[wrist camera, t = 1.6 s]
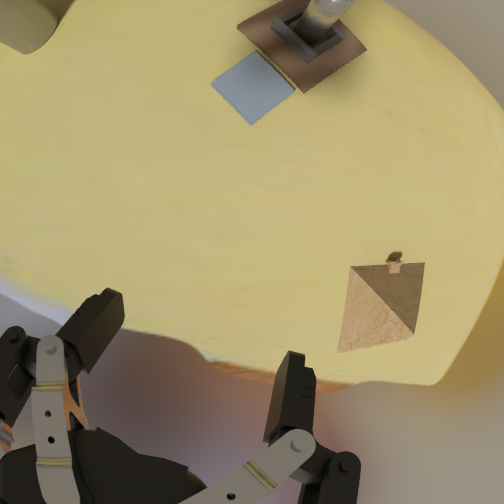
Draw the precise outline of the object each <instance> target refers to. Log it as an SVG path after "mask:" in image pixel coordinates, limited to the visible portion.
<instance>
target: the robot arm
mask: <svg viewBox="0 0 504 504" xmlns="http://www.w3.org/2000/svg"><path fill="white" fill-rule="evenodd" d="M57 23H58V15H57V13H56V12H55V11H53V10H52V9H51V8H50V7H49V6H48V5H47V4H46V3H45V2H44V1H43V0H0V42H1V43H3V44H5V45H7V46H9V47H11V48H13V49H14V50H16V51H18V52H20V53H22V54H29V53H31V52H34V51H35V50H37V49H38V48H39V47H41V46H42V45H43V44H44V43H45V42H46V41H47V40H48V39H49V38H50V36H51V35H52V33H53V32H54V30H55V28H56V26H57ZM124 317H125V313H124V305H123V297H122V294H121V293H120V292H117V291H115V290H113V289H110V288H106V289H105V290H104V291H103V292H102V293H101V294H100V295H97V294H95V295H93V296H91V297H89V298H87V299H86V300H85V301H84V302H83V304H82V305H81V306H80V308H78V309H77V310H76V311H75V313H74V314H73V315H72V316H71V317H70V318H69V320H68V321H67V322H66V323H65V324H64V326H63V327H62V328H61V329H60V330H59V332H58V333H57V334H56V335H49V336H45V337H44V338H42V339H39V338H35V337H30V336H27V335H26V333H25V331H24V329H23V328H21V327H19V326H13V327H10V328H8V329H7V330H6V331H5V333H4V334H3V335H2V336H1V338H0V504H256V503H257V502H258V501H260V500H261V499H262V498H264V497H265V496H267V495H268V494H269V493H270V492H271V491H273V490H274V488H275V487H276V486H277V485H278V484H279V483H281V482H282V481H283V480H284V479H285V478H287V477H288V476H289V477H291V478H293V479H295V480H297V481H299V482H301V483H302V486H301V491H300V495H299V499H298V503H297V504H356V503H357V496H358V488H359V480H360V471H361V463H360V460H359V458H358V457H357V456H356V455H355V454H353V453H351V452H347V451H344V452H340V453H336V452H334V451H331V450H329V449H327V448H325V447H323V446H321V445H320V444H319V443H318V442H317V441H316V440H315V438H314V436H313V431H312V427H313V417H314V404H315V392H316V391H315V390H316V376H315V374H314V371H313V368H308V367H304V365H305V354H301V353H297V352H293V351H288V352H287V354H286V356H285V357H284V359H283V361H282V363H281V365H280V367H279V368H278V371H277V374H276V377H275V381H274V387H273V392H272V397H271V403H270V408H269V413H268V418H267V423H266V428H265V432H264V437H263V442H267V443H269V445H268V448H267V449H266V450H264V451H263V452H262V453H260V454H259V455H258V456H256V457H255V458H253V459H252V460H251V461H249V462H247V463H245V464H244V465H242V466H241V467H239V468H238V469H236V470H235V471H233V472H232V473H230V474H229V475H227V476H226V477H224V478H222V479H221V480H219V481H218V482H216V483H214V484H213V485H211V486H209V487H208V488H207V486H206V485H205V484H204V483H203V481H202V480H200V479H199V478H198V477H197V476H196V475H195V474H193V473H192V472H190V471H188V467H187V466H184V465H181V464H179V463H176V462H173V461H170V460H167V459H165V458H159V457H153V456H147V455H142V454H138V453H137V452H135V451H134V450H133V449H131V448H130V447H129V446H127V445H126V444H125V443H124V442H122V441H121V440H120V439H119V438H117V437H115V436H113V435H111V434H110V433H108V432H106V431H104V430H102V429H100V428H98V427H97V429H96V430H89V428H88V424H87V420H86V417H85V415H84V412H83V408H82V401H81V393H80V385H79V377H78V375H79V373H80V372H81V371H83V372H85V373H87V374H89V373H90V371H91V370H92V368H93V367H94V365H95V364H96V362H97V361H98V358H99V357H100V356H101V355H102V353H103V352H104V350H105V349H106V347H107V346H108V344H109V343H110V342H111V340H112V339H113V337H114V336H115V334H116V333H117V332H118V330H119V329H120V327H121V326H122V324H123V321H124ZM16 365H17V366H16ZM15 366H16V367H15ZM14 368H15V369H14ZM13 369H14V370H13ZM12 371H13V372H12ZM11 372H12V373H11ZM10 374H11V375H10ZM9 375H10V376H9ZM8 377H9V378H8ZM7 379H8V380H7ZM30 394H31V397H32V416H33V428H34V437H35V444H33V445H30V446H26V447H23V448H19V449H16V450H12V449H11V445H12V444H13V443H14V438H13V432H12V427H13V425H14V423H15V421H16V419H17V417H18V416H19V414H20V412H21V410H22V408H23V406H24V405H25V403H26V401H27V399H28V398H29V396H30Z"/></svg>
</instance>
